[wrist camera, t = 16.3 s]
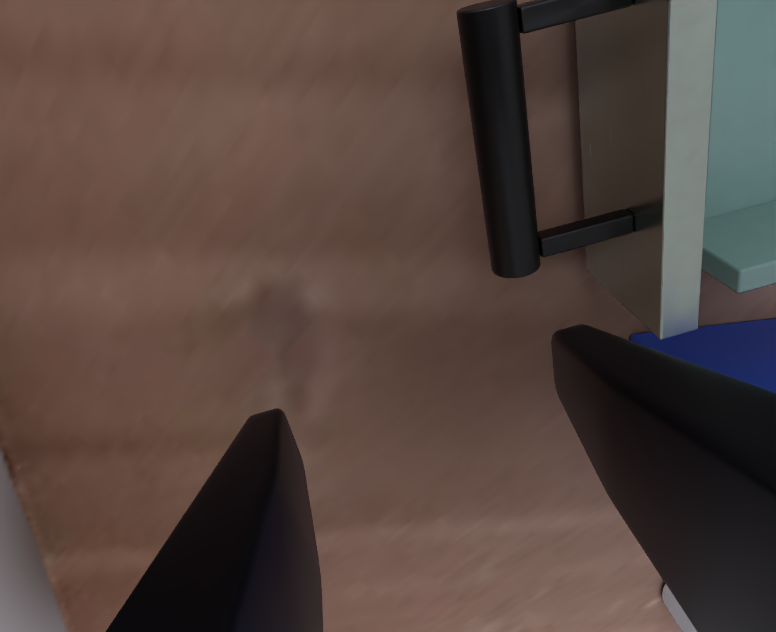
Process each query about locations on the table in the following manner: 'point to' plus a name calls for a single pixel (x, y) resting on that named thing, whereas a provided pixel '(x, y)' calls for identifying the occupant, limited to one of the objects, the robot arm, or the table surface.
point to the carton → (725, 350)
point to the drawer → (638, 146)
